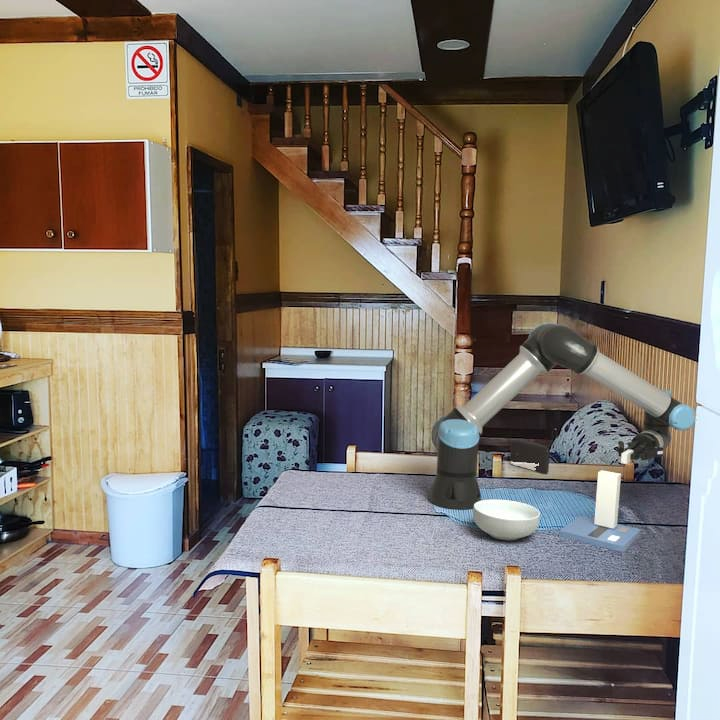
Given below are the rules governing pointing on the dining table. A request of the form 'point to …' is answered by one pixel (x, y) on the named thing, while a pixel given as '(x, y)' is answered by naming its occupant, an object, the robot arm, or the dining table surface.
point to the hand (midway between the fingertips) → (624, 458)
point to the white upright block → (607, 499)
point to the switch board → (600, 534)
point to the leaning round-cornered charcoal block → (530, 454)
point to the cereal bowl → (506, 518)
